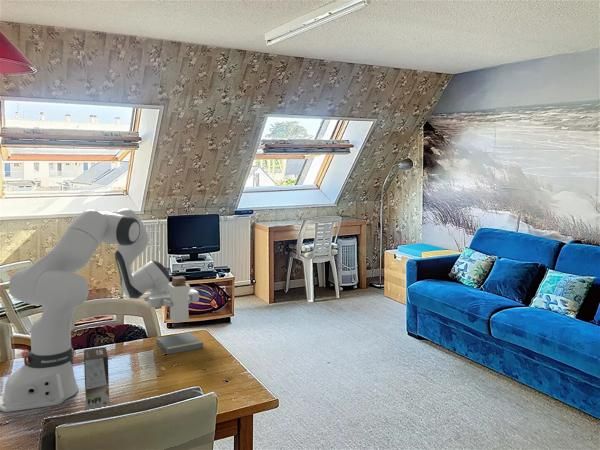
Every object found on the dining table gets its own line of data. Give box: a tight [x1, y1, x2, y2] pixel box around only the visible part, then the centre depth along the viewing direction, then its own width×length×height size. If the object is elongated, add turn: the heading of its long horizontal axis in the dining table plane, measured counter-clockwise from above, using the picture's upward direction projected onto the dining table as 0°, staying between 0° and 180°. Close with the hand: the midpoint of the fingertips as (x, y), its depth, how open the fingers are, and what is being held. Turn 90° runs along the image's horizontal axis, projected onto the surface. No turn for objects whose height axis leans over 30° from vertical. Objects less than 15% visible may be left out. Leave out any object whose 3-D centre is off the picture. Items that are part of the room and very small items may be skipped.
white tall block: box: [168, 282, 191, 324], centre depth 203 cm, size 6×6×14 cm
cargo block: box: [171, 275, 187, 287], centre depth 202 cm, size 4×4×4 cm
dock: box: [156, 332, 204, 355], centre depth 205 cm, size 14×14×2 cm
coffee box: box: [83, 346, 110, 411], centre depth 154 cm, size 9×6×16 cm
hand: (179, 303), depth 202 cm, fingers closed on white tall block, 5 cm apart
